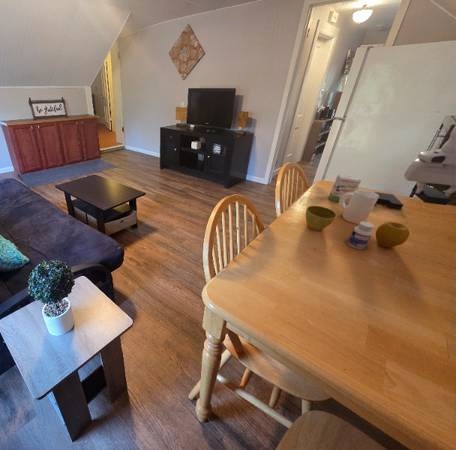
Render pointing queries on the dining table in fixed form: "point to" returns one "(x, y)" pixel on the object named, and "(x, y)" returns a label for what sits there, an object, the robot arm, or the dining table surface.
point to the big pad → (389, 200)
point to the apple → (391, 234)
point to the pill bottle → (361, 235)
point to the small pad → (431, 196)
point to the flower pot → (319, 217)
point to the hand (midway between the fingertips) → (431, 194)
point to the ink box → (344, 187)
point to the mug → (358, 205)
